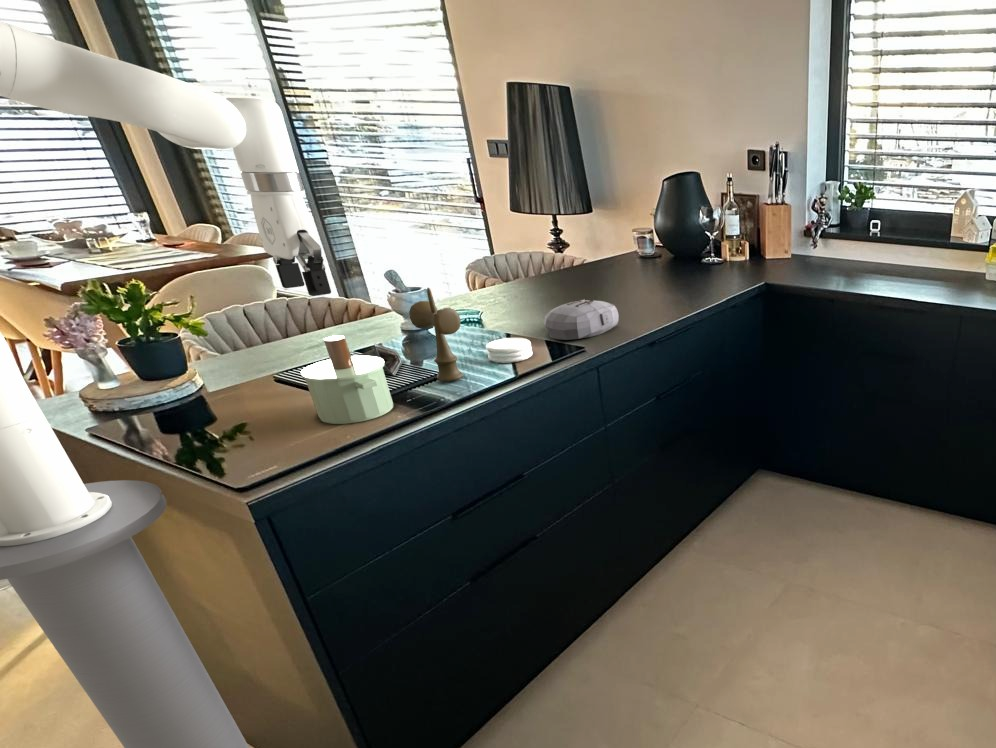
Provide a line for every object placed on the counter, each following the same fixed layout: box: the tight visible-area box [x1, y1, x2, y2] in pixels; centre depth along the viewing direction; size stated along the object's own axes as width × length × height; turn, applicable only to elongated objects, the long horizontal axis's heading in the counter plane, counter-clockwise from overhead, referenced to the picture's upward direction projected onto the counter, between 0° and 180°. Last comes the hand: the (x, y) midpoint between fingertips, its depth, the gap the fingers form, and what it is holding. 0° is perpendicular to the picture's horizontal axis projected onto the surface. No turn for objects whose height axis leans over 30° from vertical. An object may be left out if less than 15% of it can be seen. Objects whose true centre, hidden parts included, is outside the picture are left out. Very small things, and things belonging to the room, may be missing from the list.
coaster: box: [485, 337, 533, 364], centre depth 150 cm, size 10×10×4 cm
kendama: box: [408, 287, 464, 383], centre depth 132 cm, size 6×10×20 cm, turn 58°
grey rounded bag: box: [543, 298, 620, 341], centre depth 168 cm, size 15×8×20 cm
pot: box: [304, 368, 394, 425], centre depth 118 cm, size 12×17×8 cm
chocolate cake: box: [355, 342, 403, 376], centre depth 139 cm, size 10×7×12 cm
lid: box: [300, 335, 385, 381], centre depth 115 cm, size 13×13×7 cm
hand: (307, 290), depth 108 cm, fingers open, 9 cm apart
